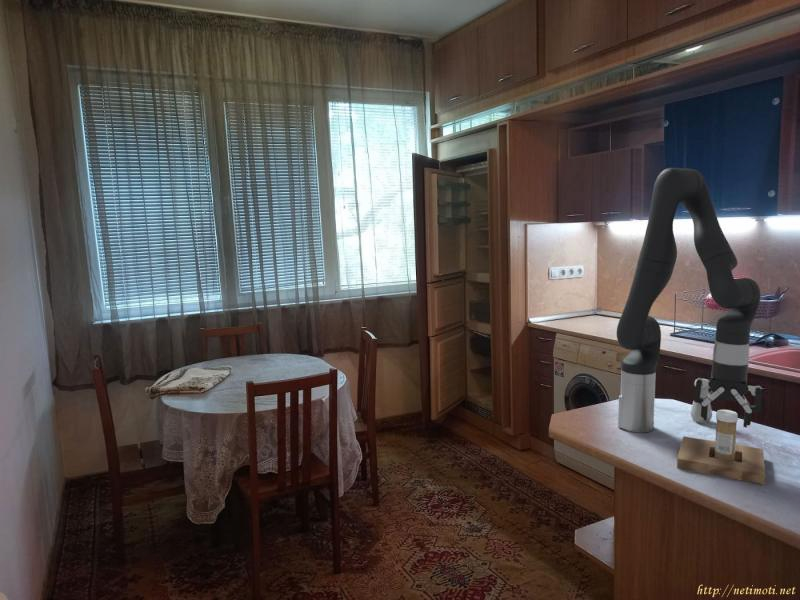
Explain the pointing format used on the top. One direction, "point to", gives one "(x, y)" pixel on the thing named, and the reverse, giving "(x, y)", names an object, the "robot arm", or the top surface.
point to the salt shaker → (697, 407)
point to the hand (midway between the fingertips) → (724, 422)
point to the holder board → (722, 460)
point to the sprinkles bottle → (726, 434)
